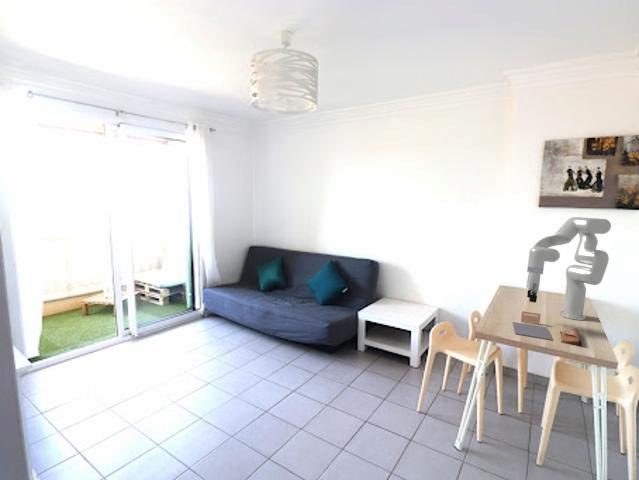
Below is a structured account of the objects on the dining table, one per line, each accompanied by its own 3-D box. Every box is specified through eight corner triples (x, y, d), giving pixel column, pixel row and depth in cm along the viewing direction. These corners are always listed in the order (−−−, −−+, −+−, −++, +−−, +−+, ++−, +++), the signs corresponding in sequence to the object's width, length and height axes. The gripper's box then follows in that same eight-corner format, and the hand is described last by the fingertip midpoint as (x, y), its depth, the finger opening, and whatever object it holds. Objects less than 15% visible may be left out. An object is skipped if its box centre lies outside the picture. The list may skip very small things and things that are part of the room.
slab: (520, 321, 193) (521, 310, 193) (538, 323, 190) (540, 312, 189) (520, 322, 192) (521, 311, 191) (539, 324, 188) (540, 313, 187)
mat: (512, 322, 190) (512, 321, 190) (545, 328, 183) (545, 327, 183) (515, 334, 174) (515, 333, 174) (552, 340, 167) (552, 339, 167)
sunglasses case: (558, 330, 180) (567, 321, 177) (571, 339, 177) (581, 331, 174) (560, 342, 165) (570, 333, 162) (574, 352, 162) (585, 343, 159)
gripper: (525, 266, 196) (522, 295, 198) (529, 272, 180) (525, 302, 182) (540, 268, 193) (536, 297, 195) (545, 273, 177) (541, 305, 179)
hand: (531, 299), depth 189 cm, fingers open, 9 cm apart
